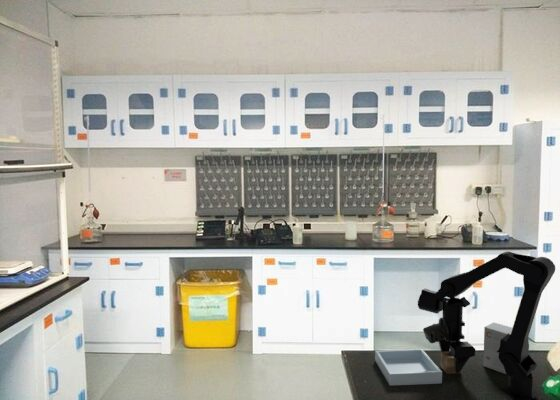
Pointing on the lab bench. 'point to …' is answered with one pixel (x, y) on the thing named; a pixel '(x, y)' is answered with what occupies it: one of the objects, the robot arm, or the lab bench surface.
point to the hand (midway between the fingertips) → (450, 365)
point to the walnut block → (448, 362)
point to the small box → (494, 345)
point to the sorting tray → (407, 367)
